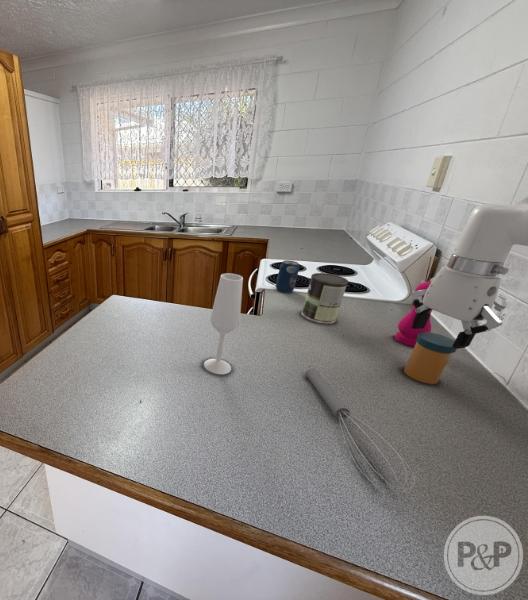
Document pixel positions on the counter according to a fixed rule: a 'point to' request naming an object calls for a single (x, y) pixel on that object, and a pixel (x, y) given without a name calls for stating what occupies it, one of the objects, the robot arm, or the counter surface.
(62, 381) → the counter surface
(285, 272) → the soda can
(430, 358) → the jar
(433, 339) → the lid
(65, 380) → the counter surface
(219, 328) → the champagne flute
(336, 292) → the coffee can
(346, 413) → the kitchen whisk
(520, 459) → the counter surface
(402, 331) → the pepper mill
